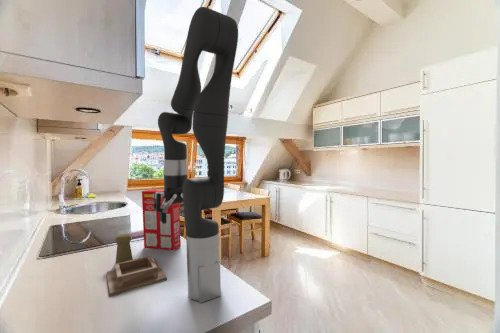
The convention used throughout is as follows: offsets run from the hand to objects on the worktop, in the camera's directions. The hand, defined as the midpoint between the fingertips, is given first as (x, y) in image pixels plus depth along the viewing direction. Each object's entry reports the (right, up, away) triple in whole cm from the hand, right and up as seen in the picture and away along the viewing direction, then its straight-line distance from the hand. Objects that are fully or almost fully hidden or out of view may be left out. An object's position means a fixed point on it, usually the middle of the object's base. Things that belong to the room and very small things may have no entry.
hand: (176, 220), depth 83 cm
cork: (-22, -18, +9) cm, 30 cm away
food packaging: (-14, -17, +25) cm, 33 cm away
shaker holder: (-13, -18, -2) cm, 22 cm away
